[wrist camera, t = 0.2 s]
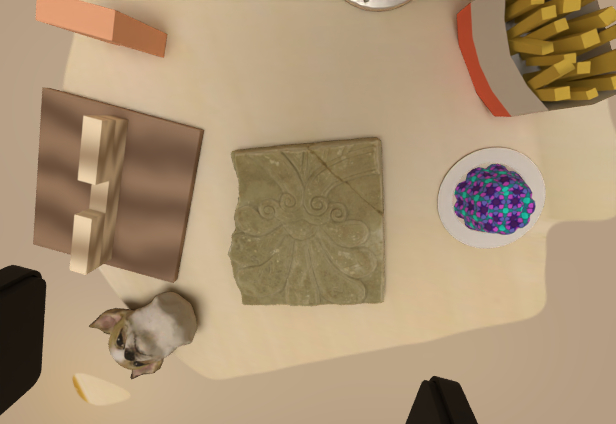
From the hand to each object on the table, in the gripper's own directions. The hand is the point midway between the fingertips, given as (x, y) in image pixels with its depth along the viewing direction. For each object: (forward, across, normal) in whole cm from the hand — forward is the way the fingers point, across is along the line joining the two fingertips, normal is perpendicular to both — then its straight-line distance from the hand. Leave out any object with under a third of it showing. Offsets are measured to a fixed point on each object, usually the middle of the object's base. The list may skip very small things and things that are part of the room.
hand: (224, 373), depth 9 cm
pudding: (+37, -21, -2) cm, 42 cm away
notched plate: (+36, +23, -9) cm, 44 cm away
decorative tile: (+37, 0, +7) cm, 38 cm away
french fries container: (+36, -15, -16) cm, 42 cm away
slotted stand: (+36, +24, +9) cm, 44 cm away
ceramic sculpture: (+37, +16, +26) cm, 48 cm away
